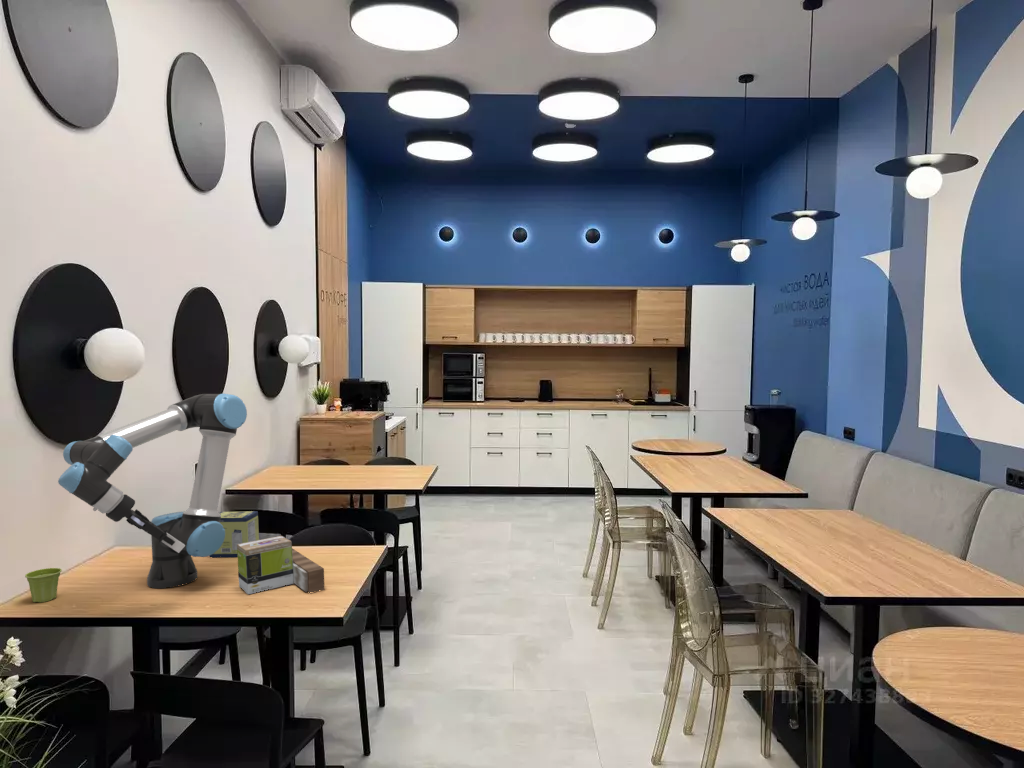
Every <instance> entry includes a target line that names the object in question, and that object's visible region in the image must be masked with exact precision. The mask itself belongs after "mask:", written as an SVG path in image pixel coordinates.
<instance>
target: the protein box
mask: <svg viewBox="0 0 1024 768" xmlns="http://www.w3.org/2000/svg"><path fill="white" fill-rule="evenodd" d="M219 514H220V515H221V519H220V524H222V525H223V528H224V529H225V539H224V542H223V544H222V545H221V547H220V548H219V549H218V550H217V551H216V552H215V553H214V554H212V555H210V556H208V557H212V558H214V559H215V558H217V559H219V558H221V559H222V558H224V559H226V558H228V559H229V558H230V559H231V558H233V559H235V558H236V559H238V555H237V544H241V543H247V542H252V541H257V540H260V534H259V533H260V531H259V530H260V529H259V512H258V511H255V510H253V511H252V510H251V511H250V510H249V511H219Z"/></svg>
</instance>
